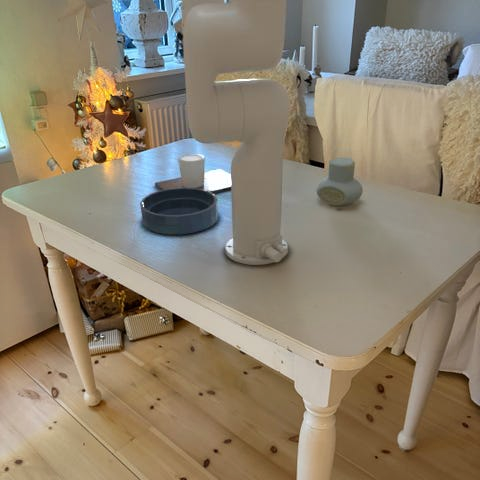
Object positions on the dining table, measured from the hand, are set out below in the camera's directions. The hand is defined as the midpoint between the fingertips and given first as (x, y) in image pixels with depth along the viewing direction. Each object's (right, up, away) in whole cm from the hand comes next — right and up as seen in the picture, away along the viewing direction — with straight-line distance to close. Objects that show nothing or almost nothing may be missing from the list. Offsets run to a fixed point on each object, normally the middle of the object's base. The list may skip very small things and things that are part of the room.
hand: (206, 64), depth 120 cm
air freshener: (+32, -34, 0) cm, 47 cm away
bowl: (-6, -40, -7) cm, 41 cm away
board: (-3, -27, +11) cm, 29 cm away
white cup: (-4, -27, +10) cm, 29 cm away
